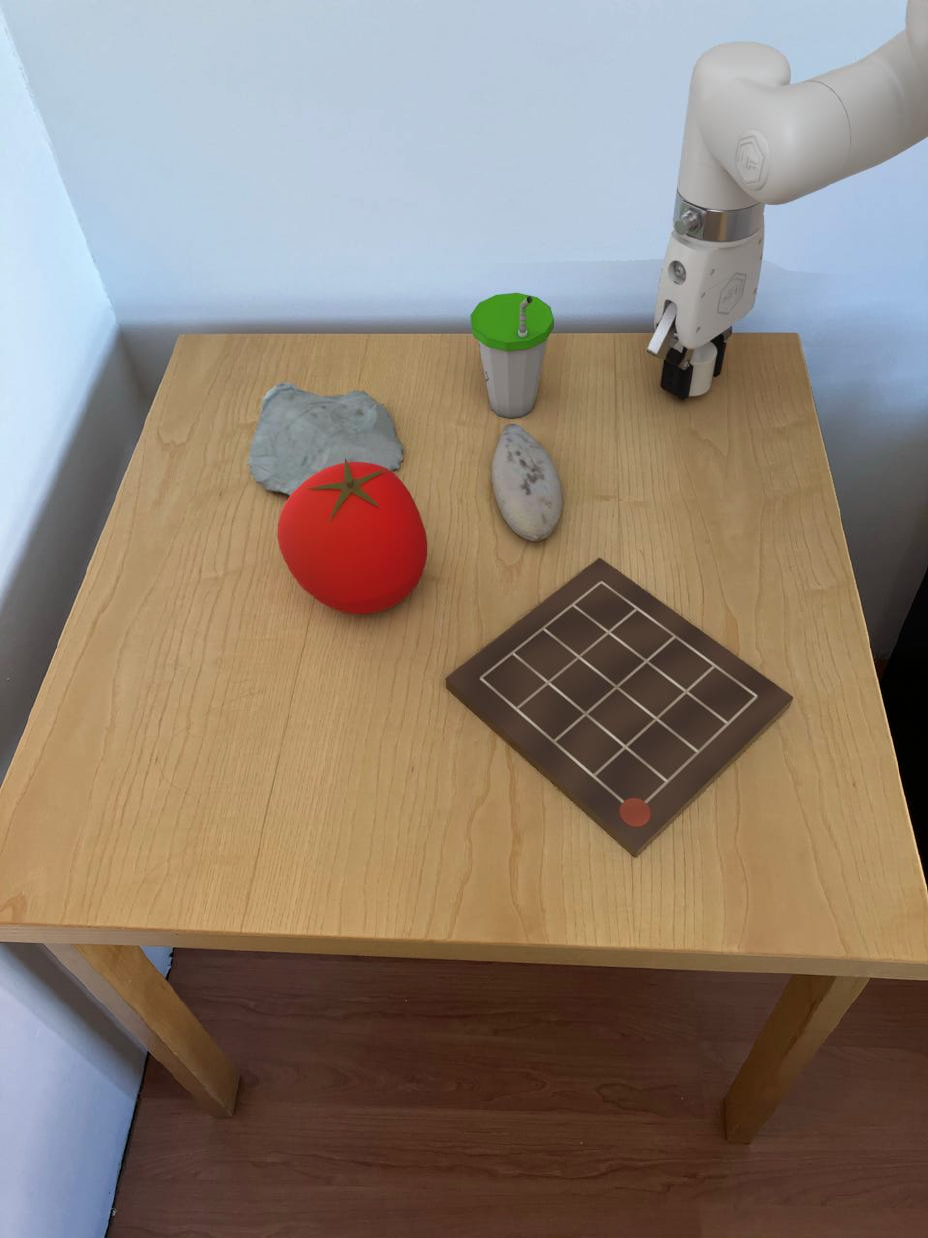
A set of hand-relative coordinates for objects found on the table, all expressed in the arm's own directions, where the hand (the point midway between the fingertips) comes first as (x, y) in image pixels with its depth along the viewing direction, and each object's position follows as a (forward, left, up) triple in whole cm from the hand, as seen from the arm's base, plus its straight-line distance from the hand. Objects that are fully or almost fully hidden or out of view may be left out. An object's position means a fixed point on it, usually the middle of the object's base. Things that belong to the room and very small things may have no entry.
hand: (690, 380), depth 96 cm
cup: (+11, +14, -2) cm, 18 cm away
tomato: (+3, +40, -2) cm, 40 cm away
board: (-20, +33, -1) cm, 38 cm away
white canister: (0, 0, 0) cm, 0 cm away
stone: (+19, +32, -2) cm, 37 cm away
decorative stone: (+1, +22, -2) cm, 22 cm away
